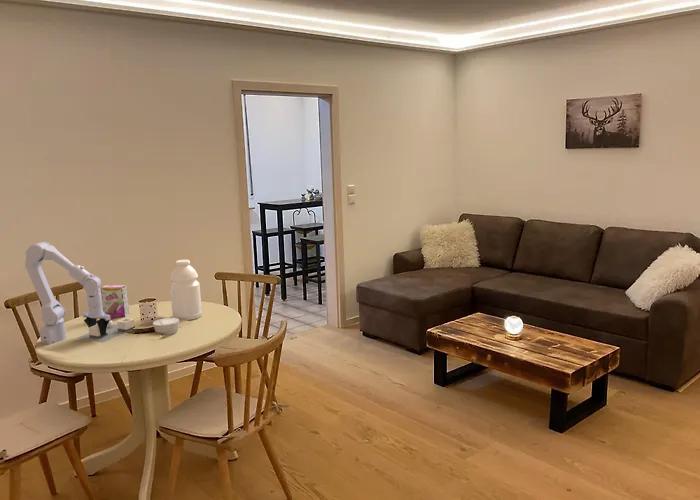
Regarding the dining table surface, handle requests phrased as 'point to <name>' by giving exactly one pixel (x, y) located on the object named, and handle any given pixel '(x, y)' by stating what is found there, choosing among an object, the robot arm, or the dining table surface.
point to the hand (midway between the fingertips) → (98, 334)
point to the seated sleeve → (125, 324)
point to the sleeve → (96, 332)
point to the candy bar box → (115, 300)
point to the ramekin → (166, 326)
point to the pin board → (112, 333)
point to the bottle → (185, 292)
